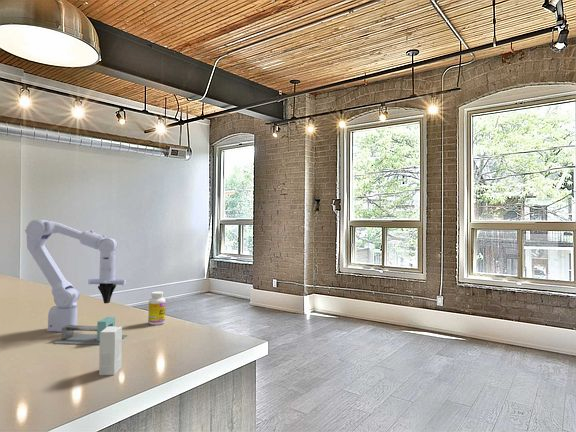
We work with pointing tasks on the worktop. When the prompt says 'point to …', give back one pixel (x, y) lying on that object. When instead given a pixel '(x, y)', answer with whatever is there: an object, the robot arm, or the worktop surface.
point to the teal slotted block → (104, 325)
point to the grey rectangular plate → (82, 339)
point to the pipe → (68, 330)
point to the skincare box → (110, 350)
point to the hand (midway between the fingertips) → (106, 302)
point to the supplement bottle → (156, 309)
